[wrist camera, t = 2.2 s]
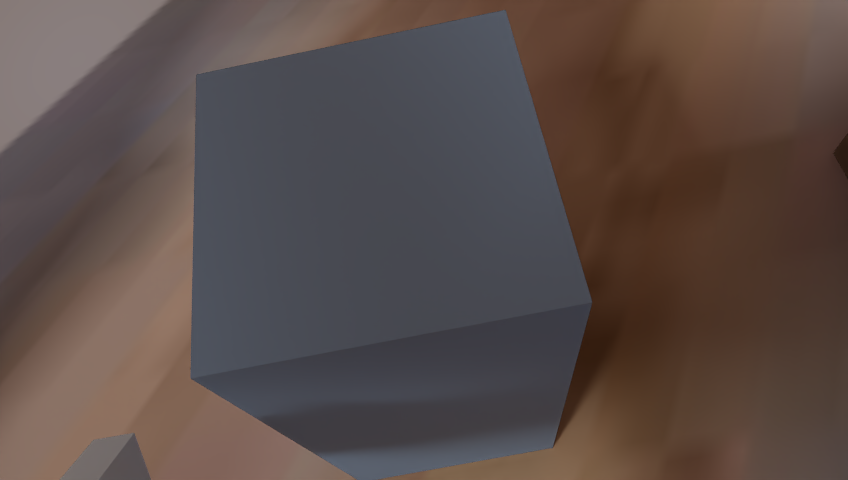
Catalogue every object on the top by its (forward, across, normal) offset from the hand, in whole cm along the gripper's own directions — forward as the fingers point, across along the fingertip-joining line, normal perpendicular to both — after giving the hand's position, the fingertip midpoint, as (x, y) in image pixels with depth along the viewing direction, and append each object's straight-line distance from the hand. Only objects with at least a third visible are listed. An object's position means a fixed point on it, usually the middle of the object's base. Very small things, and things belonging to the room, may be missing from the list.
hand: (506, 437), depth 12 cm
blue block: (+9, -2, -3) cm, 10 cm away
